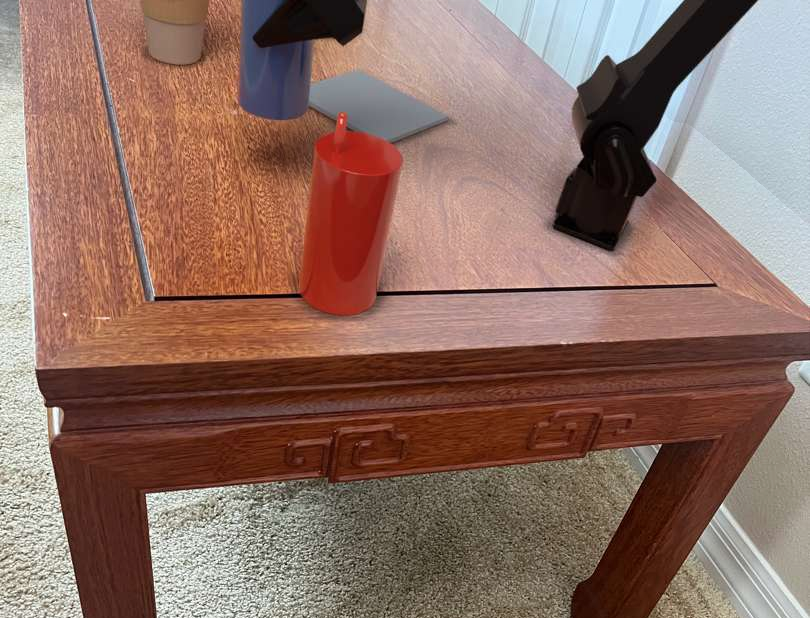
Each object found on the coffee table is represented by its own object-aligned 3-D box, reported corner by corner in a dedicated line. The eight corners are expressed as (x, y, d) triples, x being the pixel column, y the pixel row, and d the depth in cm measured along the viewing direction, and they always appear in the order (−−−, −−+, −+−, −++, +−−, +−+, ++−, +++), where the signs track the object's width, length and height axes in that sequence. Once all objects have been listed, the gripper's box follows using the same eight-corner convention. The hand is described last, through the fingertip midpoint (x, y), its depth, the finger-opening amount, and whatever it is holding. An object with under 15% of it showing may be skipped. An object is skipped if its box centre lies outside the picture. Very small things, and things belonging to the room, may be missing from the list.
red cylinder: (366, 268, 70) (398, 96, 60) (384, 314, 66) (420, 137, 56) (292, 267, 68) (312, 90, 58) (305, 316, 64) (328, 133, 54)
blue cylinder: (311, 96, 78) (329, -84, 68) (303, 125, 73) (322, -63, 63) (244, 84, 77) (251, -99, 67) (231, 113, 72) (238, -80, 62)
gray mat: (447, 120, 95) (448, 115, 95) (382, 146, 87) (382, 141, 87) (358, 74, 101) (358, 69, 100) (288, 94, 93) (289, 89, 92)
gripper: (356, -207, 67) (217, -85, 73) (337, -168, 53) (168, -21, 59) (432, -82, 73) (298, 21, 79) (432, -17, 59) (270, 102, 65)
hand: (262, 28), depth 71 cm, fingers closed on blue cylinder, 6 cm apart
